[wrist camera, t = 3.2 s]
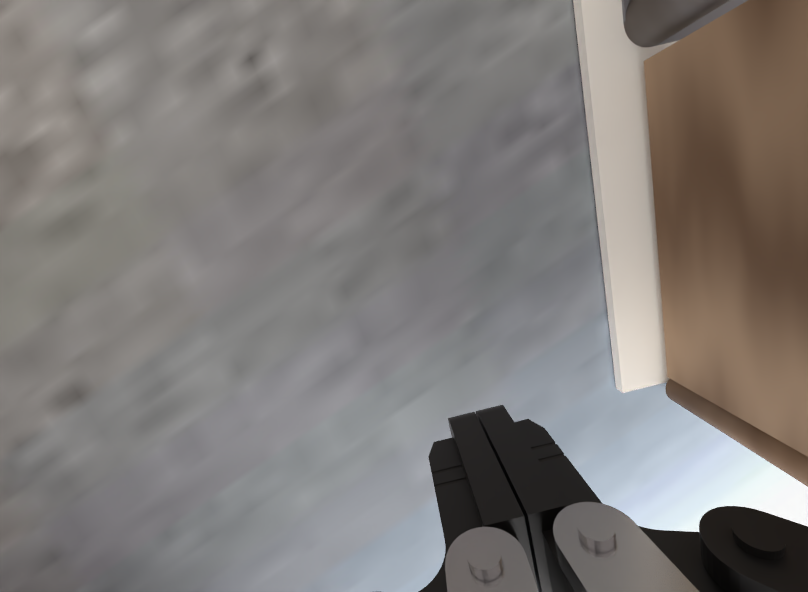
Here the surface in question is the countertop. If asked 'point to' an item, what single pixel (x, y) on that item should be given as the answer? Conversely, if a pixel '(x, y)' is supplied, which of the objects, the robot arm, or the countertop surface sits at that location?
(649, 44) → the fence fixed
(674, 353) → the fence hinged panel
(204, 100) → the countertop surface
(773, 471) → the countertop surface
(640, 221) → the card
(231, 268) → the countertop surface
